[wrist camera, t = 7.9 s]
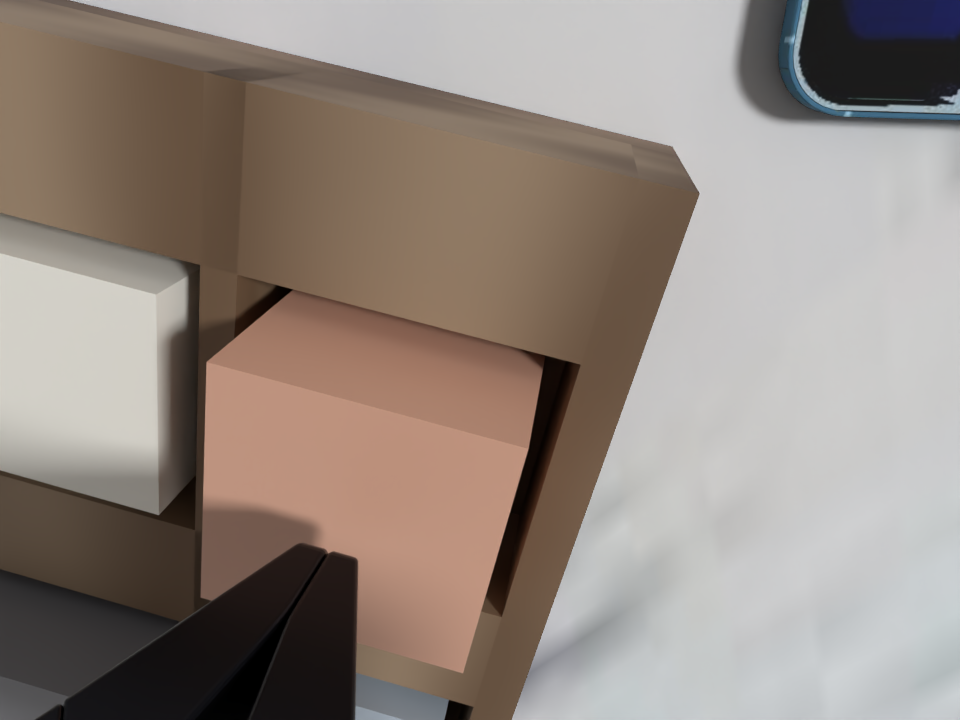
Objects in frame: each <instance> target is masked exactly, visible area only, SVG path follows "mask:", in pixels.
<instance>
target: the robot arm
mask: <svg viewBox="0 0 960 720" xmlns="http://www.w3.org/2000/svg"><path fill="white" fill-rule="evenodd" d="M357 610H358V560H357V558H355V557H353V556H349V555H346V554H342V553H339V552H335V551H332V552H330V553H328V552H327V550H326V549H324V548H321V547H317V546H314V545H310V544H307V543H298V544H296V545H294V546H293V547H291V548H290V549H288V550H287V551H285V552H284V553H282V554H281V555H279V556H278V557H276V558H275V559H273V560H272V561H270V562H269V563H267V564H266V565H264V566H263V567H261V568H260V569H258V570H257V571H255V572H254V573H252V574H251V575H249V576H248V577H246V578H245V579H243V580H242V581H240V582H239V583H237V584H236V585H235V586H233V587H232V588H230V589H229V590H227V591H226V592H224V593H223V594H221V595H220V596H218V597H217V598H215V599H214V600H212V601H211V602H209V603H208V604H206V605H205V606H203V607H202V608H200V609H199V610H197V611H196V612H194V613H193V614H191V615H190V616H188V617H187V618H185V619H184V620H182V621H181V622H180V623H178V624H177V625H175V626H174V627H172V628H171V629H169V630H168V631H166V632H165V633H163V634H162V635H160V636H159V637H157V638H156V639H154V640H153V641H151V642H150V643H148V644H147V645H145V646H144V647H142V648H141V649H139V650H138V651H136V652H135V653H133V654H132V655H130V656H129V657H127V658H126V659H124V660H123V661H122V662H120V663H119V664H117V665H116V666H114V667H113V668H111V669H110V670H108V671H107V672H105V673H104V674H102V675H101V676H99V677H98V678H96V679H95V680H93V681H92V682H90V683H89V684H87V685H86V686H84V687H83V688H81V689H80V690H78V691H77V692H75V693H74V694H72V695H71V696H69V697H68V698H66V699H65V701H64V704H63V706H62V705H61V704H57V705H56V706H54V707H53V708H51V709H50V710H48V711H47V712H45V713H44V714H42V715H41V716H39V717H38V718H36V719H35V720H355V708H356V659H357Z"/></svg>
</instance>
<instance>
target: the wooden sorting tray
mask: <svg viewBox="0 0 960 720" xmlns="http://www.w3.org/2000/svg"><path fill="white" fill-rule="evenodd" d="M698 197H699V192H698V190H697V188H696V187H695V185H694V183H693V182H692V180H691V178H690V176H689V175H688V173H687V171H686V170H685V168H684V166H683V164H682V163H681V161H680V159H679V158H678V156H677V154H676V152H675V151H674V149H673V147H671V146H667V145H663V144H659V143H654V142H650V141H646V140H642V139H638V138H634V137H630V136H626V135H622V134H617V133H613V132H609V131H605V130H601V129H597V128H593V127H589V126H584V125H580V124H576V123H572V122H568V121H564V120H560V119H556V118H552V117H547V116H543V115H539V114H535V113H531V112H527V111H523V110H519V109H514V108H510V107H506V106H502V105H498V104H494V103H490V102H486V101H482V100H477V99H473V98H469V97H465V96H461V95H457V94H453V93H449V92H444V91H440V90H436V89H432V88H428V87H424V86H420V85H416V84H411V83H407V82H403V81H399V80H395V79H391V78H387V77H383V76H379V75H374V74H370V73H366V72H362V71H358V70H354V69H350V68H346V67H341V66H337V65H333V64H329V63H325V62H321V61H317V60H313V59H309V58H304V57H300V56H296V55H292V54H288V53H284V52H280V51H276V50H271V49H267V48H263V47H259V46H255V45H251V44H247V43H243V42H238V41H234V40H230V39H226V38H222V37H218V36H214V35H210V34H206V33H201V32H197V31H193V30H189V29H185V28H181V27H177V26H173V25H168V24H164V23H160V22H156V21H152V20H148V19H144V18H140V17H136V16H131V15H127V14H123V13H119V12H115V11H111V10H107V9H103V8H98V7H94V6H90V5H86V4H82V3H78V2H74V1H70V0H0V213H3V214H7V215H11V216H15V217H19V218H22V219H26V220H30V221H34V222H38V223H42V224H45V225H49V226H53V227H57V228H61V229H65V230H68V231H72V232H76V233H80V234H84V235H87V236H91V237H95V238H99V239H103V240H107V241H110V242H114V243H118V244H122V245H126V246H129V247H133V248H137V249H141V250H145V251H149V252H152V253H156V254H160V255H164V256H168V257H171V258H175V259H179V260H183V261H187V262H191V263H194V264H198V265H200V298H199V350H198V402H197V455H196V475H195V476H194V477H193V479H192V480H191V481H190V482H189V483H188V484H187V485H186V486H185V487H184V488H183V489H182V491H181V492H180V493H179V494H178V495H177V496H176V497H175V498H174V499H173V500H172V501H171V503H170V504H169V505H168V506H167V507H166V508H165V509H164V510H163V511H162V512H161V513H160V515H157V514H153V513H149V512H146V511H142V510H139V509H135V508H132V507H128V506H125V505H121V504H118V503H114V502H111V501H107V500H104V499H100V498H96V497H93V496H89V495H86V494H82V493H79V492H75V491H72V490H68V489H65V488H61V487H58V486H54V485H51V484H47V483H43V482H40V481H36V480H33V479H29V478H26V477H22V476H19V475H15V474H12V473H8V472H5V471H1V470H0V569H2V570H5V571H9V572H12V573H15V574H19V575H22V576H26V577H29V578H33V579H36V580H39V581H43V582H46V583H50V584H53V585H57V586H60V587H63V588H67V589H70V590H74V591H77V592H81V593H84V594H88V595H91V596H94V597H98V598H101V599H105V600H108V601H112V602H115V603H118V604H122V605H125V606H129V607H132V608H136V609H139V610H142V611H146V612H149V613H153V614H156V615H160V616H163V617H166V618H170V619H173V620H177V621H180V622H181V621H182V620H184V619H185V618H187V617H188V616H190V615H191V614H193V613H194V612H196V611H197V610H199V609H200V608H202V607H203V606H205V605H206V604H208V603H209V602H211V600H207V599H204V598H201V561H202V521H203V482H204V443H205V404H206V364H207V361H208V360H210V359H211V358H212V357H213V356H214V355H216V354H217V353H218V352H219V351H220V350H222V349H223V348H224V347H225V346H226V345H228V344H229V343H230V342H231V341H232V340H234V339H235V338H236V337H237V336H238V335H240V334H241V333H242V332H243V331H244V330H246V329H247V328H248V327H249V326H250V325H252V324H253V323H254V322H255V321H256V320H258V319H259V318H260V317H261V316H262V315H264V314H265V313H266V312H267V311H268V310H270V309H271V308H272V307H273V306H274V305H275V304H277V303H278V302H279V301H280V300H281V299H283V298H284V297H285V296H286V295H287V294H289V293H290V292H291V291H292V290H293V289H294V290H298V291H301V292H305V293H309V294H313V295H317V296H320V297H324V298H328V299H332V300H336V301H340V302H343V303H347V304H351V305H355V306H359V307H363V308H366V309H370V310H374V311H378V312H382V313H385V314H389V315H393V316H397V317H401V318H405V319H408V320H412V321H416V322H420V323H424V324H427V325H431V326H435V327H439V328H443V329H447V330H450V331H454V332H458V333H462V334H466V335H469V336H473V337H477V338H481V339H485V340H489V341H492V342H496V343H500V344H504V345H508V346H511V347H515V348H519V349H523V350H527V351H531V352H534V353H538V354H542V355H545V360H544V366H543V371H542V377H541V383H540V388H539V394H538V399H537V405H536V410H535V416H534V421H533V427H532V432H531V438H530V443H529V449H528V452H527V456H526V459H525V463H524V466H523V469H522V473H521V476H520V480H519V483H518V487H517V490H516V493H515V497H514V500H513V504H512V507H511V511H510V514H509V517H508V521H507V524H506V528H505V531H504V534H503V538H502V541H501V545H500V548H499V552H498V555H497V558H496V562H495V565H494V569H493V572H492V576H491V579H490V582H489V586H488V589H487V593H486V596H485V600H484V603H483V606H482V610H481V613H480V617H479V620H478V624H477V627H476V630H475V634H474V637H473V641H472V644H471V648H470V651H469V654H468V658H467V661H466V665H465V668H464V672H463V673H460V672H456V671H453V670H450V669H446V668H443V667H439V666H436V665H432V664H429V663H425V662H422V661H418V660H415V659H411V658H408V657H404V656H401V655H398V654H394V653H391V652H387V651H384V650H380V649H377V648H373V647H370V646H366V645H363V644H359V643H357V659H356V673H359V674H362V675H366V676H369V677H372V678H376V679H379V680H383V681H386V682H390V683H393V684H397V685H400V686H403V687H407V688H410V689H414V690H417V691H421V692H424V693H427V694H431V695H434V696H438V697H441V698H445V699H448V700H449V702H448V706H447V711H446V715H445V719H444V720H512V717H513V714H514V711H515V708H516V706H517V703H518V700H519V697H520V694H521V692H522V689H523V686H524V683H525V680H526V678H527V675H528V672H529V669H530V666H531V664H532V661H533V658H534V655H535V652H536V650H537V647H538V644H539V641H540V639H541V636H542V633H543V630H544V627H545V625H546V622H547V619H548V616H549V613H550V611H551V608H552V605H553V602H554V599H555V597H556V594H557V591H558V588H559V585H560V583H561V580H562V577H563V574H564V571H565V569H566V566H567V563H568V560H569V557H570V555H571V552H572V549H573V546H574V543H575V541H576V538H577V535H578V532H579V529H580V527H581V524H582V521H583V518H584V515H585V513H586V510H587V507H588V504H589V501H590V499H591V496H592V493H593V490H594V487H595V485H596V482H597V479H598V476H599V473H600V471H601V468H602V465H603V462H604V459H605V457H606V454H607V451H608V448H609V446H610V443H611V440H612V437H613V434H614V432H615V429H616V426H617V423H618V420H619V418H620V415H621V412H622V409H623V406H624V404H625V401H626V398H627V395H628V392H629V390H630V387H631V384H632V381H633V378H634V376H635V373H636V370H637V367H638V364H639V362H640V359H641V356H642V353H643V350H644V348H645V345H646V342H647V339H648V336H649V334H650V331H651V328H652V325H653V322H654V320H655V317H656V314H657V311H658V308H659V306H660V303H661V300H662V297H663V294H664V292H665V289H666V286H667V283H668V280H669V278H670V275H671V272H672V269H673V266H674V264H675V261H676V258H677V255H678V253H679V250H680V247H681V244H682V241H683V239H684V236H685V233H686V230H687V227H688V225H689V222H690V219H691V216H692V213H693V211H694V208H695V205H696V202H697V199H698Z"/></svg>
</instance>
